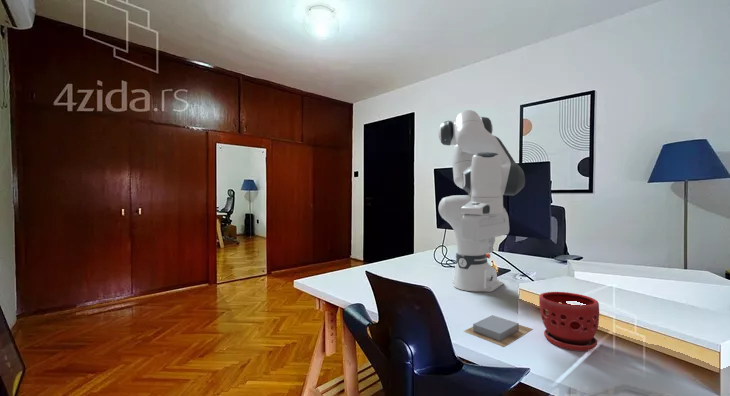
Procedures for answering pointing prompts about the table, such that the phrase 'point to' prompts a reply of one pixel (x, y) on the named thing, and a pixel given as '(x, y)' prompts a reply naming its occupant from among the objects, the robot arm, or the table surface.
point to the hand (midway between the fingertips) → (487, 252)
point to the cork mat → (504, 342)
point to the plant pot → (570, 320)
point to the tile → (496, 327)
